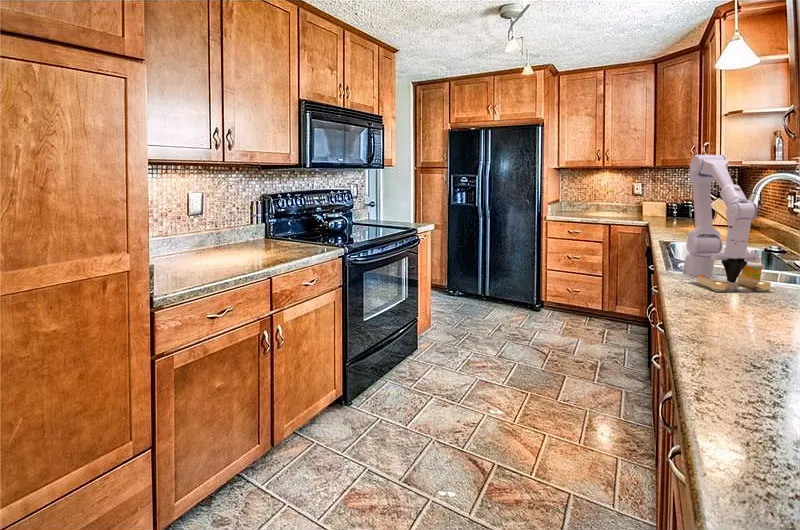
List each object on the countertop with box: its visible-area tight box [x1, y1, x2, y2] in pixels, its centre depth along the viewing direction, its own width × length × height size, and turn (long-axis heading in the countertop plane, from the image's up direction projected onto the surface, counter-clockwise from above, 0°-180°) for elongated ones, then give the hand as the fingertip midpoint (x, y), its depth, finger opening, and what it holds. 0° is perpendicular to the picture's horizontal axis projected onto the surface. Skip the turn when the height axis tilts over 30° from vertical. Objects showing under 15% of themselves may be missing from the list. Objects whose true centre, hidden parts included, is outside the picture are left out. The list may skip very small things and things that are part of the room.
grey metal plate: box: [687, 281, 775, 294], centre depth 155 cm, size 14×19×3 cm
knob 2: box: [736, 274, 772, 292], centre depth 154 cm, size 11×4×3 cm, turn 3°
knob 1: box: [696, 275, 728, 292], centre depth 153 cm, size 11×4×3 cm, turn 3°
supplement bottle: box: [741, 255, 763, 281], centre depth 166 cm, size 5×5×10 cm
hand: (731, 281), depth 156 cm, fingers closed
